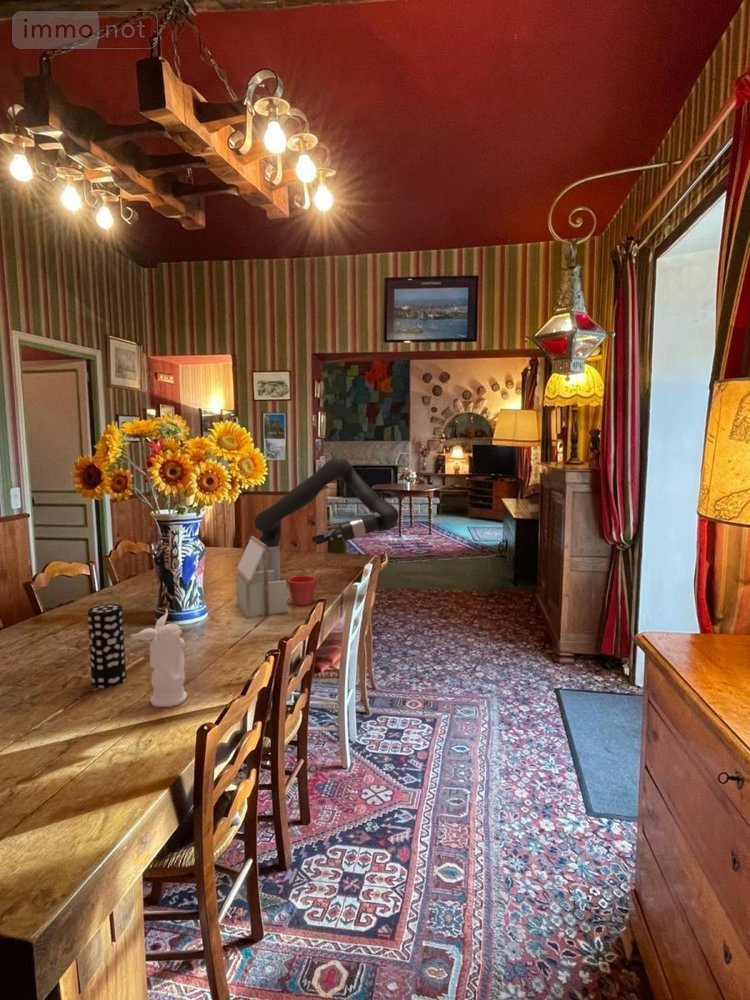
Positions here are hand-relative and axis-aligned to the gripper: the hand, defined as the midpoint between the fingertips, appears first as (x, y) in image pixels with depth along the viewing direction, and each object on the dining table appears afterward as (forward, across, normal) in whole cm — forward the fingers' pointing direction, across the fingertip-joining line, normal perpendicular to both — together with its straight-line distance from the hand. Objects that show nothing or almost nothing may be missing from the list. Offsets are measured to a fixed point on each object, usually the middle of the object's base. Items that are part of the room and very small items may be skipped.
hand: (314, 541), depth 223 cm
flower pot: (+11, -1, +23) cm, 25 cm away
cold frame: (+27, +2, +19) cm, 33 cm away
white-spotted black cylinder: (+71, +59, +11) cm, 93 cm away
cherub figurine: (+57, +75, +16) cm, 95 cm away
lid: (+25, +3, -1) cm, 25 cm away
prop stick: (+26, +12, +20) cm, 35 cm away
